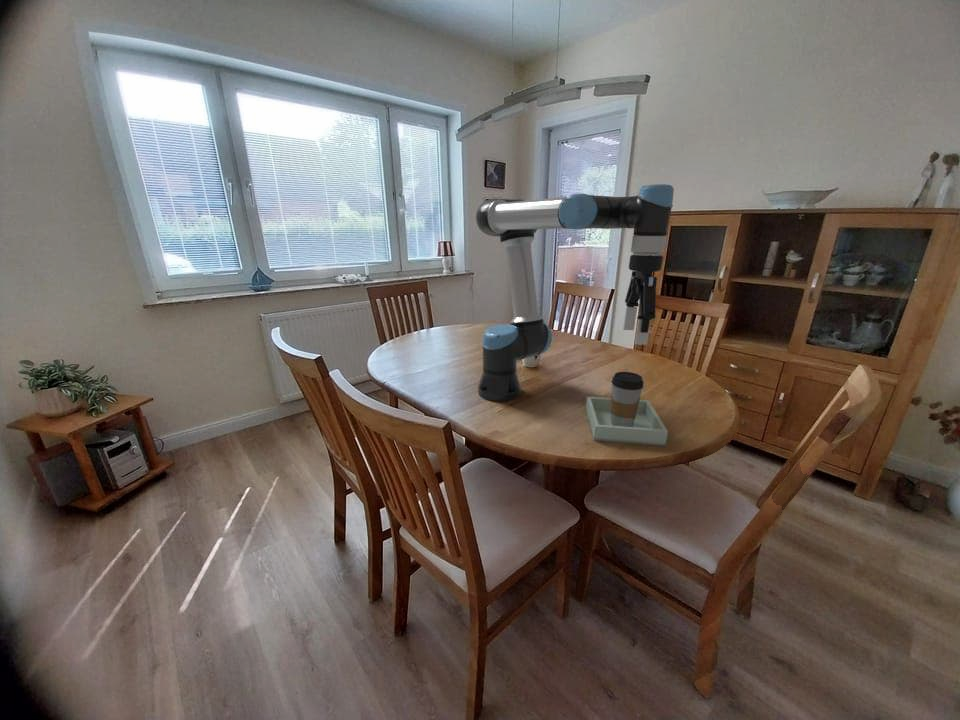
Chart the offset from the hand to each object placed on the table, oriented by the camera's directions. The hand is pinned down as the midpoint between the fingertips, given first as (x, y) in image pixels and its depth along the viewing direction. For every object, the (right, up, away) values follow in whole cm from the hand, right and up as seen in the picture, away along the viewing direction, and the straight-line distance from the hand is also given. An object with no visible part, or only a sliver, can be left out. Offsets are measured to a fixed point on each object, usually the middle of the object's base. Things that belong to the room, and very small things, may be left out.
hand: (634, 336), depth 96 cm
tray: (0, -26, +9) cm, 27 cm away
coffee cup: (0, -25, +9) cm, 27 cm away
